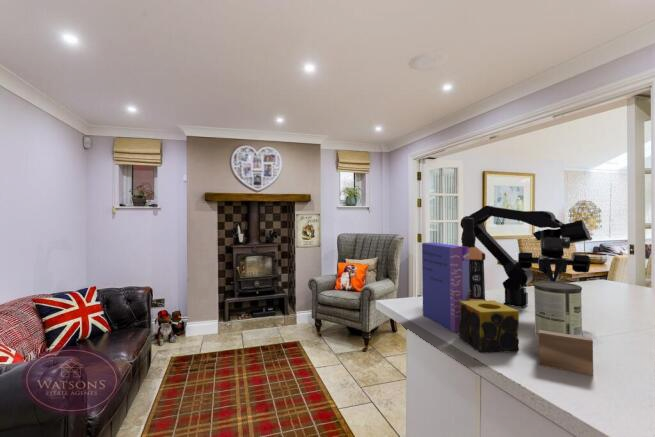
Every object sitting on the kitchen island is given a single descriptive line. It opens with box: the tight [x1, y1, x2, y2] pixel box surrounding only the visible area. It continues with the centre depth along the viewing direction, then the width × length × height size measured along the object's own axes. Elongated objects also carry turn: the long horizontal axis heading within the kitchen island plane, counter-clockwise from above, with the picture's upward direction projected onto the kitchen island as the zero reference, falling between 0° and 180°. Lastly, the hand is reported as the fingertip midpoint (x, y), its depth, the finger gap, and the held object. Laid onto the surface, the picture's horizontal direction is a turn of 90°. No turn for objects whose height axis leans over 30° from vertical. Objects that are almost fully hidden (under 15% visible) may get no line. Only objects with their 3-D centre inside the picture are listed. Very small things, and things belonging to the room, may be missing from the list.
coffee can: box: [533, 280, 583, 338], centre depth 84 cm, size 10×10×14 cm
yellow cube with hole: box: [458, 299, 520, 354], centre depth 80 cm, size 10×10×10 cm
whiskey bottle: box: [460, 217, 487, 301], centre depth 114 cm, size 10×10×32 cm
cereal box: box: [421, 242, 470, 334], centre depth 97 cm, size 17×5×24 cm, turn 12°
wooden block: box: [537, 330, 594, 376], centre depth 70 cm, size 8×9×7 cm
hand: (553, 283), depth 97 cm, fingers closed
